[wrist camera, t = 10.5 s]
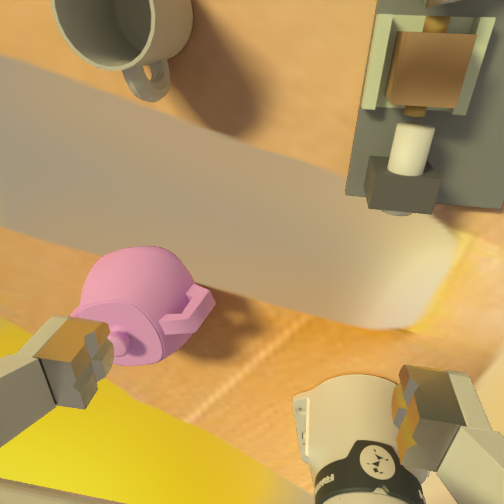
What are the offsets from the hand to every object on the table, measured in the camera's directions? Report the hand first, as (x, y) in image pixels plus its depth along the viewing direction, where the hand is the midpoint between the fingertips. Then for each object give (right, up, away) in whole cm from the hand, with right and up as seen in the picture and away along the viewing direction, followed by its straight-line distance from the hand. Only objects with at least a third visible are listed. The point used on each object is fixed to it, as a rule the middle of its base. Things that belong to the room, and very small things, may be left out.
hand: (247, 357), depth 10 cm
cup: (-8, +22, +23) cm, 33 cm away
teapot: (-13, -1, +38) cm, 40 cm away
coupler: (+13, +18, +20) cm, 30 cm away
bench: (+17, +18, +20) cm, 32 cm away
